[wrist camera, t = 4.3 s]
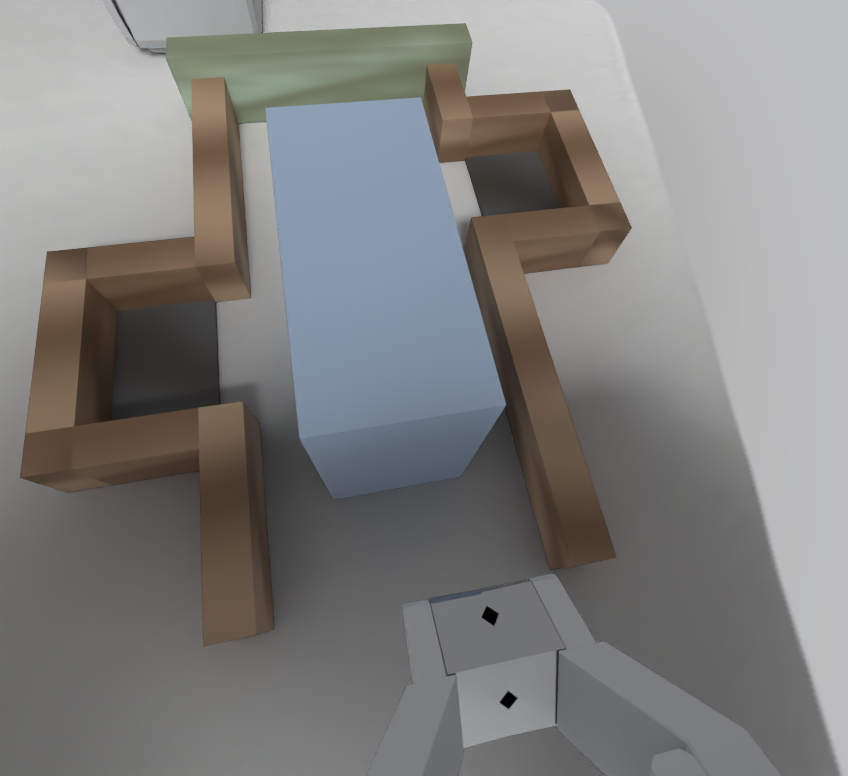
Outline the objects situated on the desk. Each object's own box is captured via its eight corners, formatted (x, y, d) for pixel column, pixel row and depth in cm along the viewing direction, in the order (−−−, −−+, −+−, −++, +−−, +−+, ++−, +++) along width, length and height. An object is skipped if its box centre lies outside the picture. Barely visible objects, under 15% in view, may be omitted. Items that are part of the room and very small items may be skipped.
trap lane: (718, 533, 19) (786, 521, 16) (52, 676, 16) (-35, 698, 12) (534, 83, 29) (553, 19, 25) (98, 112, 25) (56, 43, 22)
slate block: (460, 477, 19) (505, 405, 12) (334, 500, 19) (299, 438, 11) (409, 253, 23) (420, 97, 16) (304, 265, 23) (265, 107, 15)
